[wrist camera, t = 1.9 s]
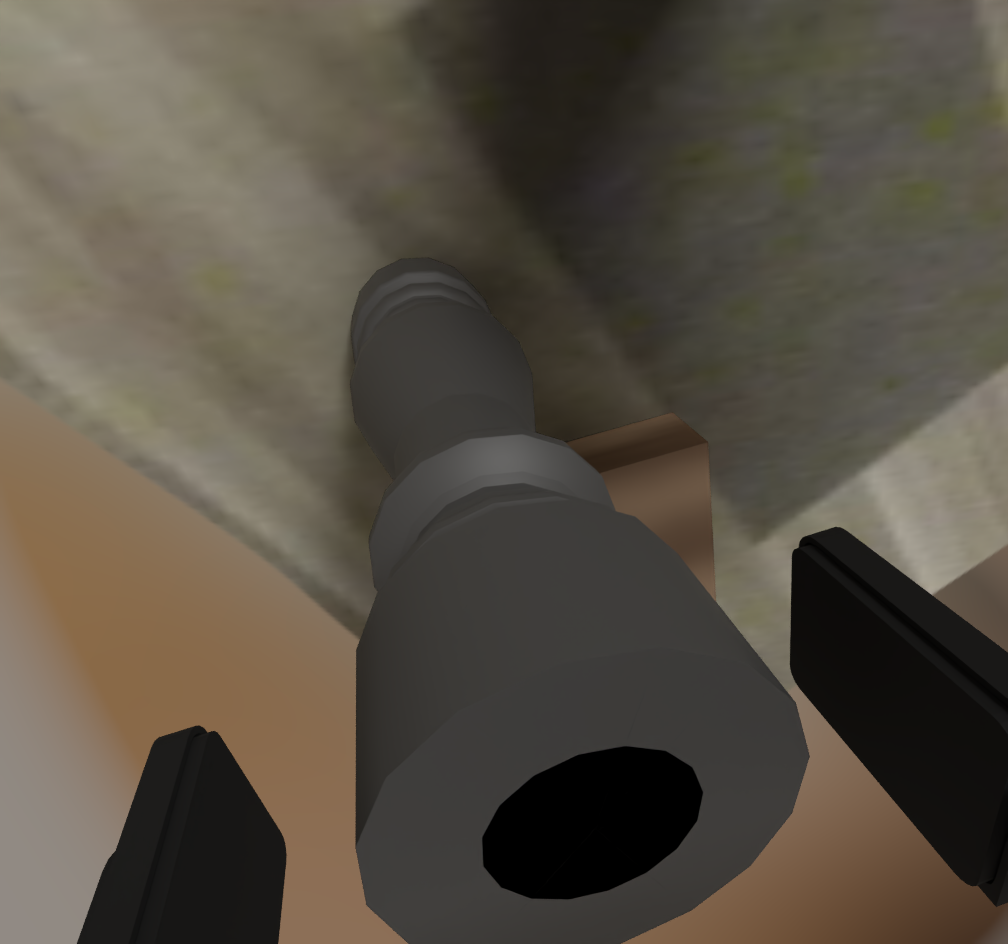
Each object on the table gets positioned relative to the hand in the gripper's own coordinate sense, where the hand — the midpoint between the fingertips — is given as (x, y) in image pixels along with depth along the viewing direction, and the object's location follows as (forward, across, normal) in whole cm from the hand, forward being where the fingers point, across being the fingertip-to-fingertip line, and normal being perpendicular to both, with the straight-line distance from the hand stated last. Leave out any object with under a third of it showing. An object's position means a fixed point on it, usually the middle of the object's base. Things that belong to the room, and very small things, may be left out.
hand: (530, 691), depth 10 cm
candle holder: (+23, 0, 0) cm, 23 cm away
